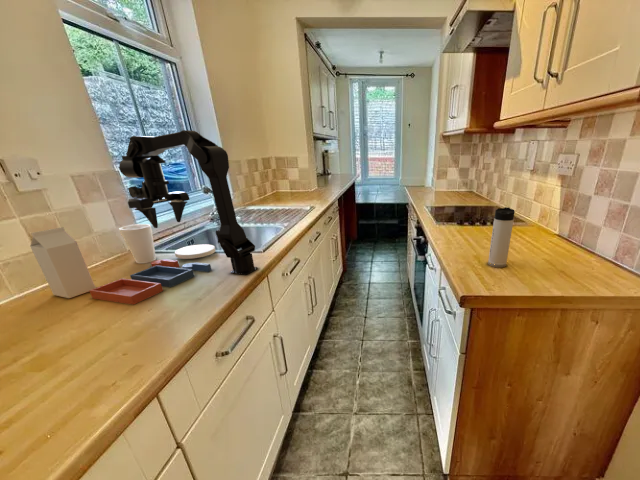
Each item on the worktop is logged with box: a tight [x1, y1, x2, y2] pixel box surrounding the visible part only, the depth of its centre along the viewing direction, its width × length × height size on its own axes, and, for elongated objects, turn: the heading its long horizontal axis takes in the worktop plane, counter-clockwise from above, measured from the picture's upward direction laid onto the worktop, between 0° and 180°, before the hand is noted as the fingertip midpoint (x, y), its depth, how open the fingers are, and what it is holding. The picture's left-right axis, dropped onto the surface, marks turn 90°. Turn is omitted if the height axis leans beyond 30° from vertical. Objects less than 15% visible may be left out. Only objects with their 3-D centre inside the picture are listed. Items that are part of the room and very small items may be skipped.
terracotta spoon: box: [150, 258, 181, 268], centre depth 115 cm, size 11×5×2 cm, turn 75°
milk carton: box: [29, 226, 97, 299], centre depth 91 cm, size 7×7×19 cm
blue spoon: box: [181, 262, 212, 273], centre depth 112 cm, size 11×5×2 cm, turn 75°
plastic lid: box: [174, 243, 216, 260], centre depth 126 cm, size 14×14×2 cm
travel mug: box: [487, 206, 516, 269], centre depth 111 cm, size 6×7×20 cm
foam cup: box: [118, 223, 157, 264], centre depth 119 cm, size 10×9×13 cm
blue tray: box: [129, 265, 195, 288], centre depth 104 cm, size 15×9×2 cm, turn 75°
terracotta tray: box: [89, 277, 164, 305], centre depth 93 cm, size 15×9×2 cm, turn 75°
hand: (167, 224), depth 111 cm, fingers open, 9 cm apart
